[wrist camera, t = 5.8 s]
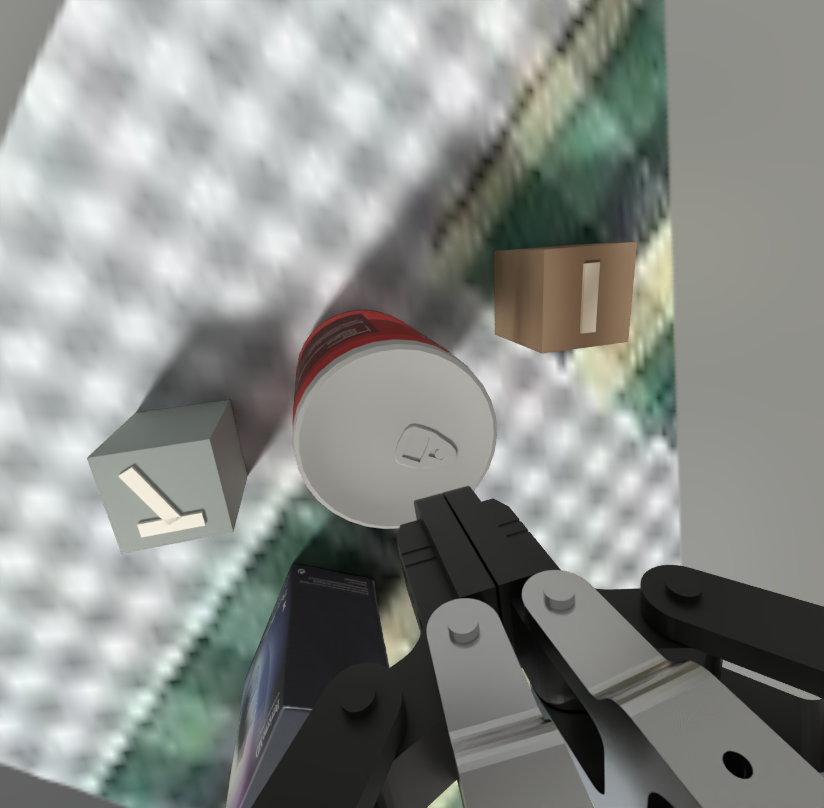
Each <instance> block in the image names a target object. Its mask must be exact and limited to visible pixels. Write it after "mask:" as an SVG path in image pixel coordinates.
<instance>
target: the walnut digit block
mask: <svg viewBox="0 0 824 808" xmlns="http://www.w3.org/2000/svg"><path fill="white" fill-rule="evenodd" d="M636 248H637V242H619V243H597V244H574V245H560V246H548V247H536V248H525V249H513V250H501V251H494V304H495V335H498V336H500V337H503V338H505V339H508V340H510V341H513V342H515V343H517V344H520V345H522V346H525V347H527V348H530V349H532V350H535V351H537V352H540V353H549V352H556V351H564V350H571V349H578V348H586V347H593V346H601V345H608V344H615V343H623V342H628V337H629V326H630V314H631V303H632V292H633V281H634V270H635V259H636Z"/></svg>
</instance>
